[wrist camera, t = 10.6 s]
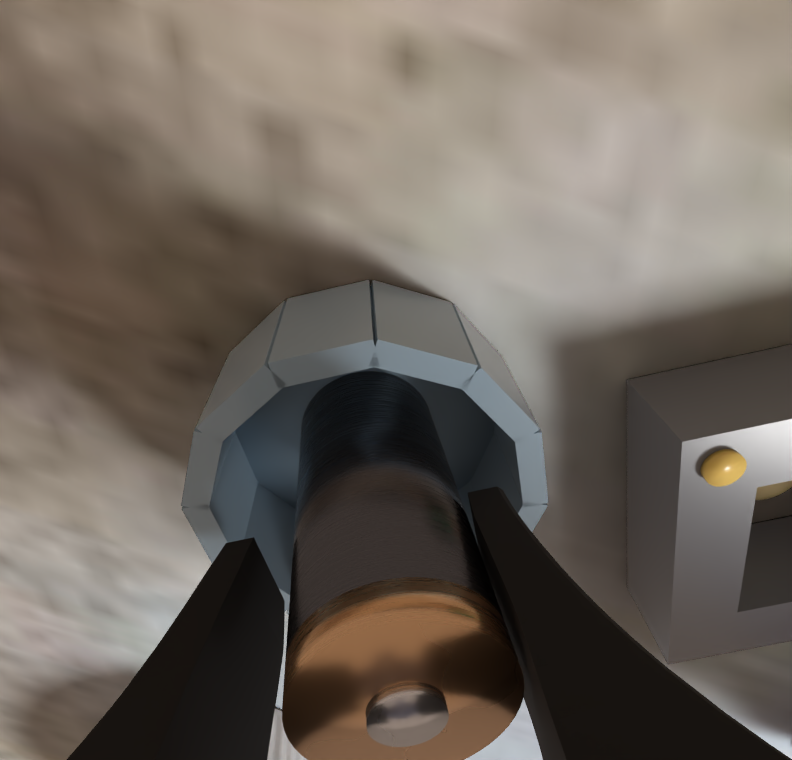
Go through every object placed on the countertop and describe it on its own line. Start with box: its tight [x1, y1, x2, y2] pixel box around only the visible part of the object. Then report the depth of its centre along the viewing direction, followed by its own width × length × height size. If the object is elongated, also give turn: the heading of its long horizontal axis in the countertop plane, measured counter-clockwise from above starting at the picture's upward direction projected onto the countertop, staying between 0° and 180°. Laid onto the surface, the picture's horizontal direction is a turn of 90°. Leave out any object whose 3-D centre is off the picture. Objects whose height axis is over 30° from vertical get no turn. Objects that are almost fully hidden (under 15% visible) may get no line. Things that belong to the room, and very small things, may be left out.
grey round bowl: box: [181, 280, 549, 614], centre depth 14 cm, size 8×8×4 cm
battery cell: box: [282, 371, 525, 760], centre depth 11 cm, size 4×4×8 cm
